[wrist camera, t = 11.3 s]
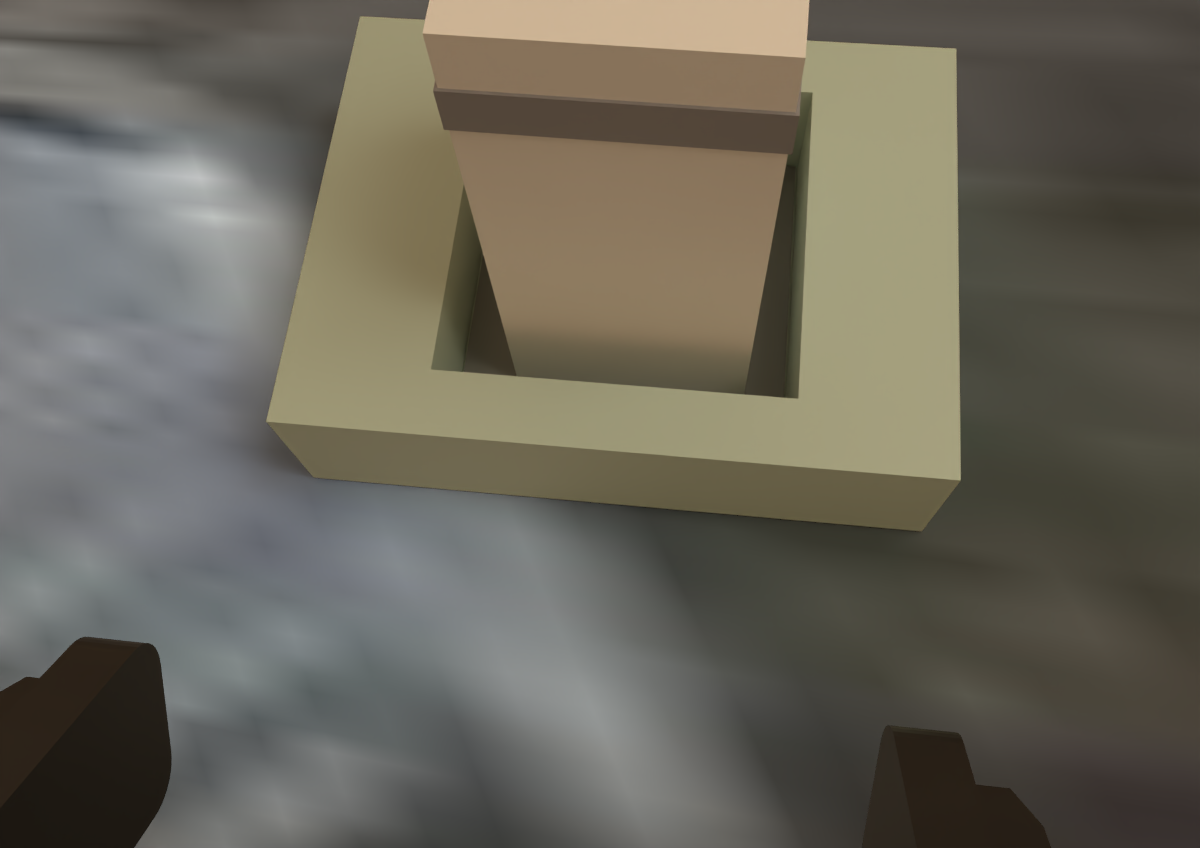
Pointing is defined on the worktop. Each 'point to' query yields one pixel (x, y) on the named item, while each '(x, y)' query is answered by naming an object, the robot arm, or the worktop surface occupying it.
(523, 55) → the block
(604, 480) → the green rectangular tray
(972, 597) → the worktop surface
